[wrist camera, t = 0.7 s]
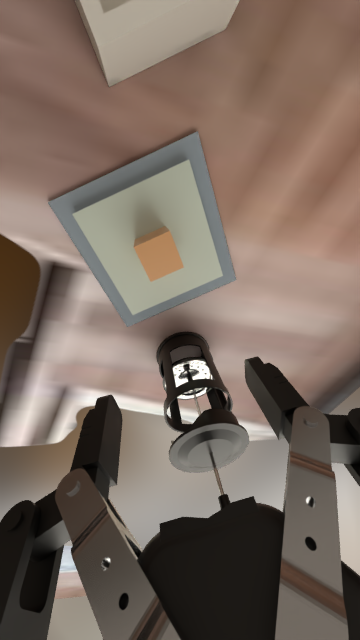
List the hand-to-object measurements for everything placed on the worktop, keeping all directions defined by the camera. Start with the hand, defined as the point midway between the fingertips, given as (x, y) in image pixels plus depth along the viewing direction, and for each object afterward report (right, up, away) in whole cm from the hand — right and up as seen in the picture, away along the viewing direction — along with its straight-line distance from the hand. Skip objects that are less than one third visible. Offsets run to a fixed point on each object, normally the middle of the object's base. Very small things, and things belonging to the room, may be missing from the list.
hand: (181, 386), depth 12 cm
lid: (-3, +13, +15) cm, 20 cm away
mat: (-3, +14, +15) cm, 21 cm away
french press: (+1, -2, +25) cm, 25 cm away
